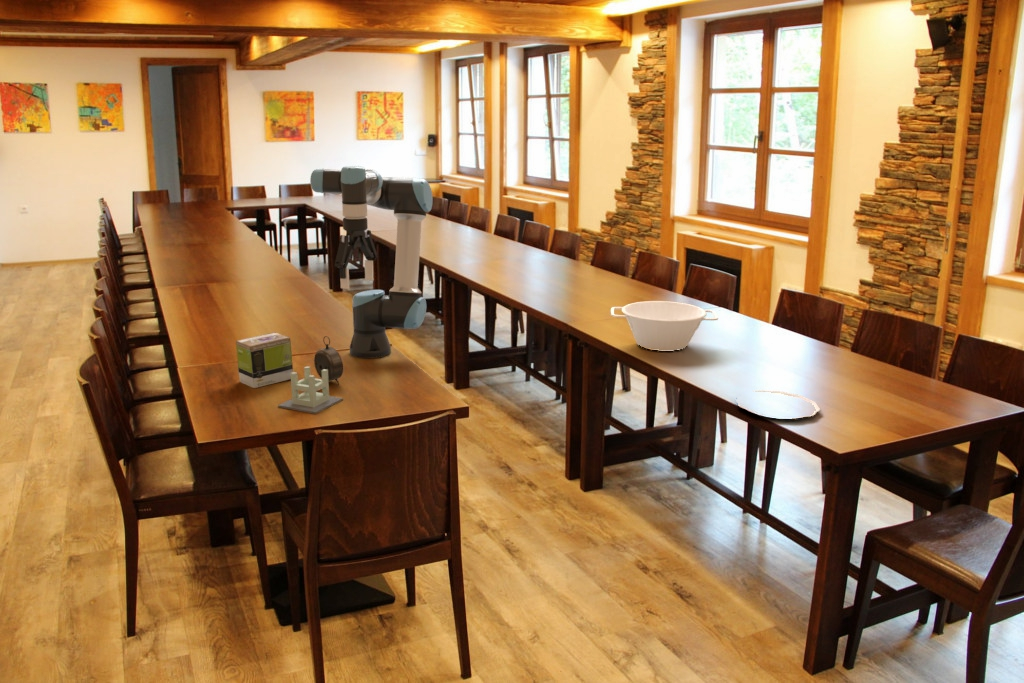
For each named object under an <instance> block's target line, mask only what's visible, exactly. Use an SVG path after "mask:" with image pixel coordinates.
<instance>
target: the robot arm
mask: <svg viewBox="0 0 1024 683" xmlns="http://www.w3.org/2000/svg"><path fill="white" fill-rule="evenodd" d="M309 179H310V181H309V184H310V187H311V190H313V192H314V193H318V194H320V193H321V194H332V195H337V196H341V205H342V217H343V218H342V229H343V230H344V231H345V232H346V234H345V235H343V234H341V235H339V244H338V248H337V252H336V257H335V260H334V267H336V268H338V270H339V278H340V279H339V280H340V289H343V290H344V289H346V290H350V273H349V272H350V271H349V269H350V268H349V267H348V265H349V262H350V261H351V257H352V255H353V252H354V250H356V249H357V248H359V249H360V251H361V253H362V255H363V256H364V258H365V260H364V281H368V282H374V261H376V260H377V258H378V253H377V249H376V247H375V244H374V240H373V238H372V237H373V236H372V231H371V229H370V230H369V228H368V218H367V217H368V206H371V207H374V208H377V209H383V210H388V211H393V216H394V217H395V218H396V219H397V222H396V223H397V226H396V241H395V242H396V245H395V260H394V262H395V264H394V279H393V286H392V288H390V289H389V292H388V293H389V294H388V295H387V294H386V293H385V290H383V289H369V290H364V291H360V292H358V293H356V294H354V295H353V297H352V306H351V308H352V321H353V322H352V324H353V333H352V337H351V341H350V345H349V356H352V357H353V358H361V359H376V358H384V357H385V356H389V355H390V354H391V353H392V348H391V347H392V346H391V344H390V341H389V338H388V335H387V332H386V328H391V329H392V328H394V329H395V328H396V329H404V330H408V329H409V330H416V329H418V328H420V327H421V326H422V324H423V322H424V320H425V317H426V314H427V313H426V312H427V301H426V299H425V298H424V297H423V296H422V291H421V289H420V288H419V285H418V284H419V271H420V257H421V256H420V255H421V254H420V252H421V237H422V236H421V234H422V222H423V221H424V219H425V218H427V213H429V212H431V210H432V208H433V203H434V202H433V200H434V199H433V192H432V188H431V186H430V183H429V182H428V180H426V179H424V178H416V177H387V176H386V177H385V176H384V177H382V175H381V174H380V172H378V171H377V170H375V169H366V168H365V167H364V166H360V165H350V166H349V165H348V166H343V167H342V168H341V169H332V168H331V169H330V168H329V169H328V168H327V169H324V168H319V169H318V168H316V169H314V170H312V172H311V174H310V178H309Z"/></svg>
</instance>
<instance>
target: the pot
mask: <svg viewBox="0 0 1024 683" xmlns="http://www.w3.org/2000/svg"><path fill="white" fill-rule="evenodd" d="M615 310H621V312H622V313H623V315H622V314H615ZM707 313H711V314H713V317H712V318H711V317H706V316H707ZM610 316H611V317H613V318H625V319H626V321H627V323H628V325H629V326H628V327H629V328H630V330H631V333H632V334H633V335H632V336H633V337H634V340H635V343H636V344H637V346H639V345H640V346H643V347H646V348H651V349H659V350H677V349H682V348H684V349H686V348H687V347H688V346H689V343H690V342H691V340H692V338H693V337H694V336H695V333H696V331H697V330H698V329H699V328H700V325H701V323H702V321H718V320H719V316H718V314H717V312H716V311H715V310H711V309H703V308H702V307H699V306H697V305H693V304H689V303H685V302H677V301H669V300H668V301H666V300H645V301H637V302H632V303H629V304H626V305H624V306H612V307H611V308H610ZM640 346H639V347H640ZM686 346H687V347H686ZM685 347H686V348H685ZM682 350H683V349H682Z"/></svg>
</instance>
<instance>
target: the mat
mask: <svg viewBox="0 0 1024 683" xmlns="http://www.w3.org/2000/svg"><path fill="white" fill-rule="evenodd" d="M342 401H344V399H343V397H339V396H334V395H333V396H332V395H329V400H328V401H326V402H324V403H322V404H320V405H318V406H316V407H308V406H303V405H297V404H292V398H291V399H289V400H286V401H284V402H282V403H280V404H278V406H277V407H278V408H281V409H286V410H287V409H288V410H292V411H293V410H294V411H296V412H297V411H298V412H303V413H307V414H308V413H309V414H314V415H317V414H319V413H320V412H321V413H322V412H323V411H325V410H326V409H328V408H330V407H332V406H334V405H336V404H338V403H340V402H342Z"/></svg>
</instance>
